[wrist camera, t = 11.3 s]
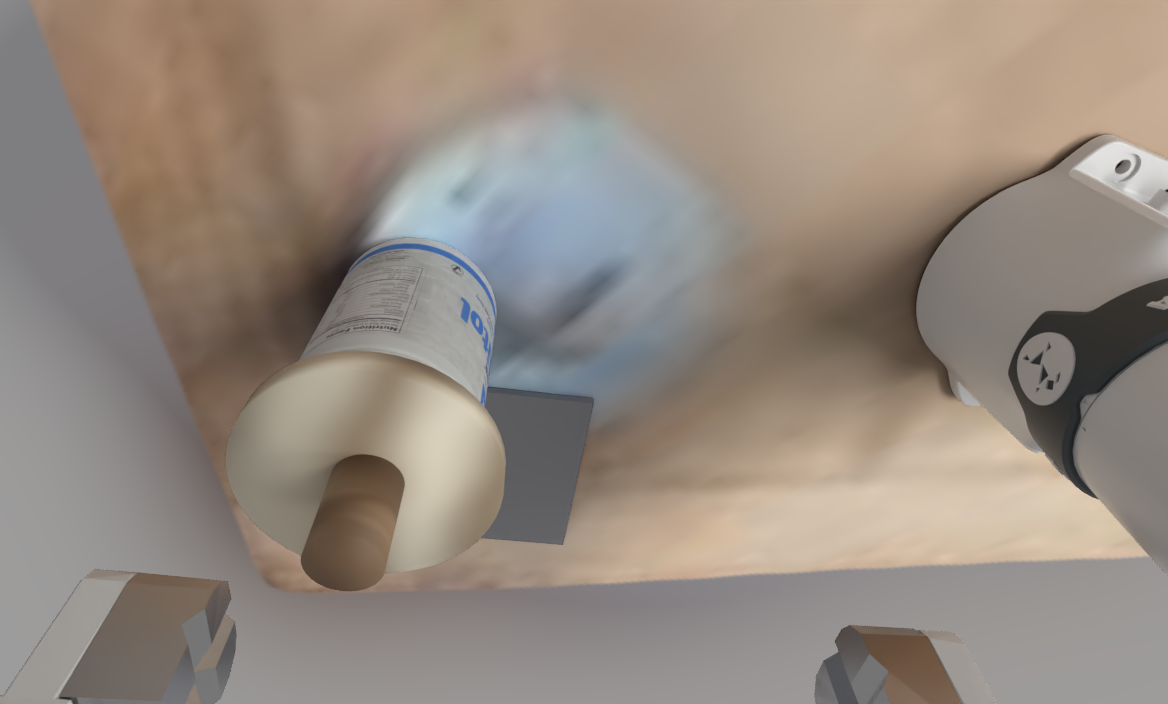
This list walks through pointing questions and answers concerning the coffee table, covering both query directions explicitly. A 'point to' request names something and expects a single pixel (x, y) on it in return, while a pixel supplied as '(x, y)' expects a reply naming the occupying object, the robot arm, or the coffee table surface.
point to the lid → (366, 465)
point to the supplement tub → (415, 311)
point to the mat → (538, 461)
